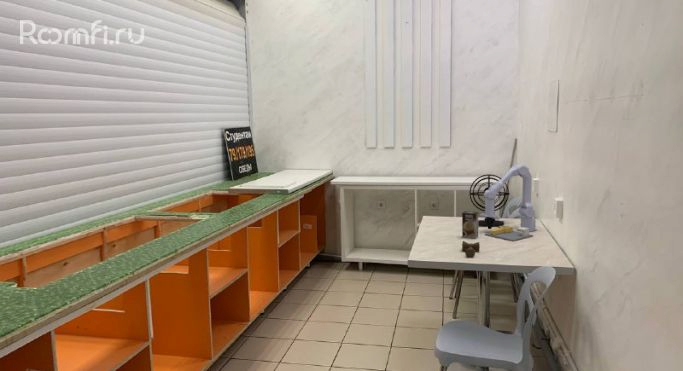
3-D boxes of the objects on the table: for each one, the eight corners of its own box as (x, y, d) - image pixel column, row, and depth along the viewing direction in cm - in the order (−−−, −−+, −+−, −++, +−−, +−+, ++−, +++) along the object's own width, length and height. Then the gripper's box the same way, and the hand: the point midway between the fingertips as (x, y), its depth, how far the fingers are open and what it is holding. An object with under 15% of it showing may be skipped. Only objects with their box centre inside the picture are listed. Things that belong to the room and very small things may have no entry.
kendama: (460, 258, 275) (462, 247, 294) (479, 259, 272) (479, 248, 291) (461, 247, 274) (462, 238, 293) (479, 248, 271) (479, 238, 290)
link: (504, 229, 329) (504, 225, 329) (512, 231, 324) (512, 226, 323) (488, 233, 320) (488, 229, 320) (496, 235, 315) (496, 230, 315)
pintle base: (504, 230, 332) (504, 222, 331) (533, 236, 314) (533, 228, 313) (484, 235, 322) (484, 227, 321) (513, 241, 303) (513, 232, 303)
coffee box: (461, 237, 318) (461, 212, 316) (464, 235, 324) (464, 210, 321) (476, 238, 314) (476, 213, 312) (478, 236, 319) (478, 211, 317)
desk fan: (508, 222, 358) (509, 173, 353) (510, 227, 341) (510, 176, 336) (469, 221, 365) (469, 173, 360) (469, 226, 348) (469, 176, 343)
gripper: (476, 207, 330) (476, 227, 331) (494, 210, 317) (494, 231, 319) (484, 206, 333) (484, 226, 335) (502, 209, 321) (501, 229, 323)
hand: (489, 228), depth 327 cm, fingers closed
